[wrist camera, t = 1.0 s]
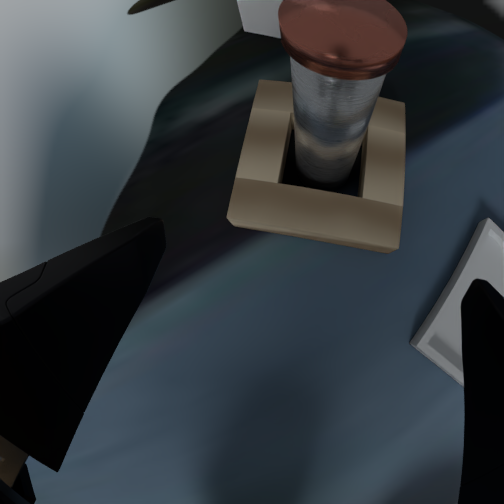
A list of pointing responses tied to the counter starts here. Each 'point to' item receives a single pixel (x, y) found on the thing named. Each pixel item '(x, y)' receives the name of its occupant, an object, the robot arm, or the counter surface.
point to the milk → (260, 16)
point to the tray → (449, 303)
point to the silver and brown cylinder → (336, 78)
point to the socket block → (312, 200)
